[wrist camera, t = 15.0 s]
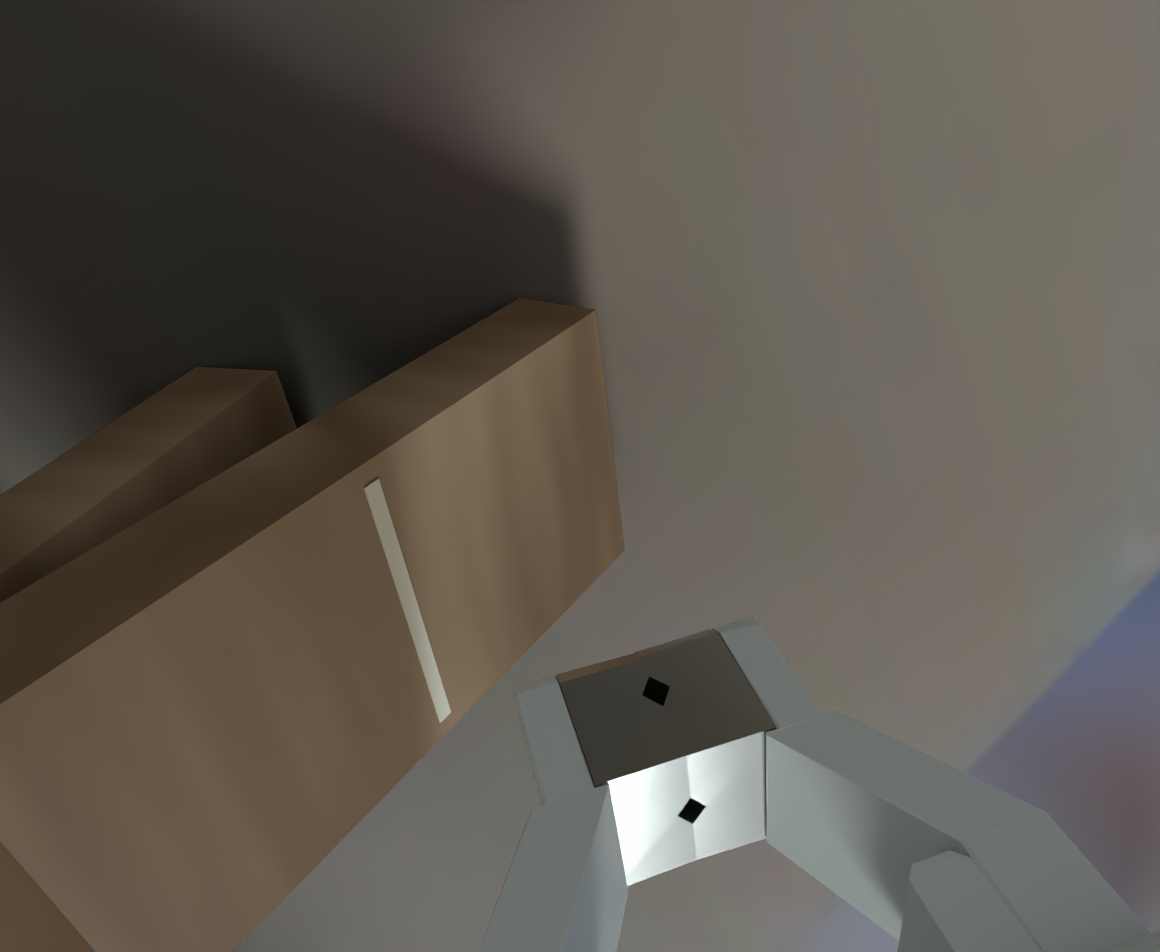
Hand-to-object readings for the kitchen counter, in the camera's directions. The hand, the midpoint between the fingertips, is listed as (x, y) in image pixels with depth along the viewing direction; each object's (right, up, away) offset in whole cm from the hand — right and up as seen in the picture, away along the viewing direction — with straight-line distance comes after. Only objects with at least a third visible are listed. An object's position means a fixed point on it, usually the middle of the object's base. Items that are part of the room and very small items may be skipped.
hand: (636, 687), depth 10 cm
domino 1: (-1, +3, +5) cm, 6 cm away
